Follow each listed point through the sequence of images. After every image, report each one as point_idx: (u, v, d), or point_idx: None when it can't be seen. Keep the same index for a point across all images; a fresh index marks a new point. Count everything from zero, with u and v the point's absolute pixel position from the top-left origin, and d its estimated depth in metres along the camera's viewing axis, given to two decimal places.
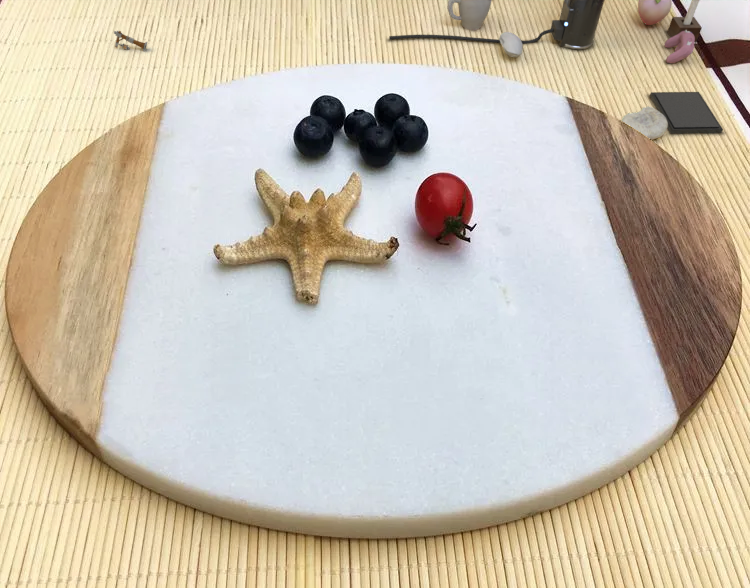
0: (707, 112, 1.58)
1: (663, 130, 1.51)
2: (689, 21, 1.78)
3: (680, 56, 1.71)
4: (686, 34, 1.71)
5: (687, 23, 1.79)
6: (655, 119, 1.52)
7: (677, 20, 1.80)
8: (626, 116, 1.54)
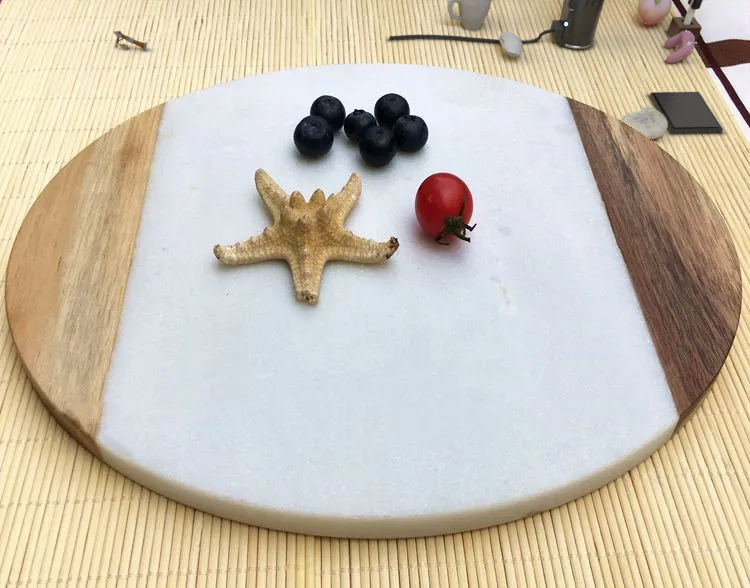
0: (707, 112, 1.58)
1: (663, 130, 1.51)
2: (689, 21, 1.78)
3: (680, 56, 1.71)
4: (686, 34, 1.71)
5: (687, 23, 1.79)
6: (655, 119, 1.52)
7: (677, 20, 1.80)
8: (626, 116, 1.54)
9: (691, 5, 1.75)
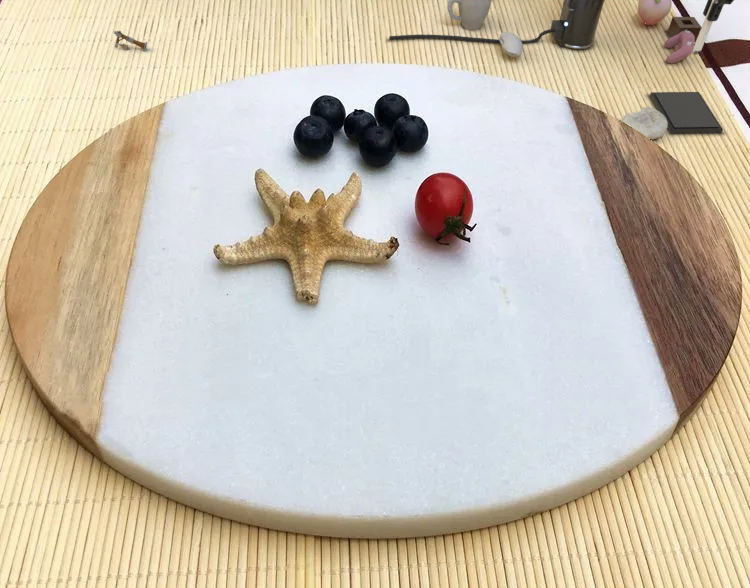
0: (707, 112, 1.58)
1: (663, 130, 1.51)
2: (704, 35, 1.50)
3: (680, 56, 1.71)
4: (686, 34, 1.71)
5: (702, 37, 1.51)
6: (655, 119, 1.52)
7: (677, 20, 1.80)
8: (626, 116, 1.54)
9: (707, 16, 1.47)
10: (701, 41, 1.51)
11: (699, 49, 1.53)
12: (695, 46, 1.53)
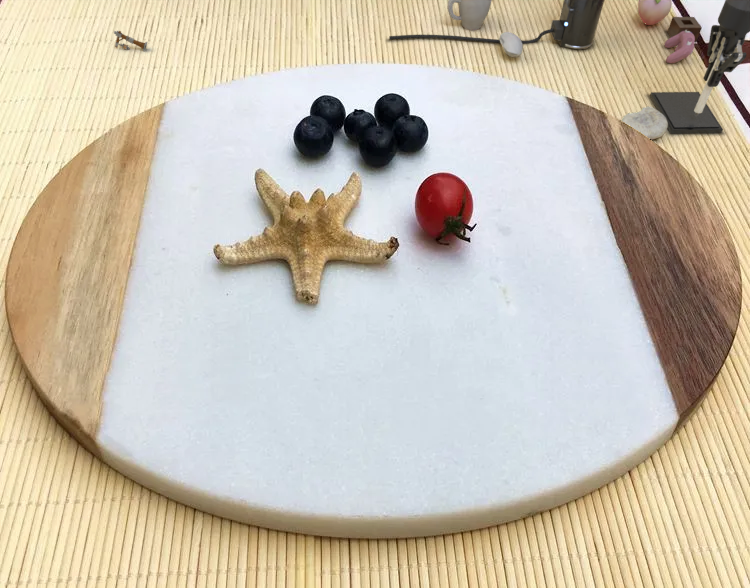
0: (707, 112, 1.58)
1: (663, 130, 1.51)
2: (705, 98, 1.50)
3: (680, 56, 1.71)
4: (686, 34, 1.71)
5: (703, 101, 1.51)
6: (655, 119, 1.52)
7: (677, 20, 1.80)
8: (626, 116, 1.54)
9: (708, 82, 1.47)
10: (701, 104, 1.51)
11: (700, 111, 1.53)
12: (696, 108, 1.53)
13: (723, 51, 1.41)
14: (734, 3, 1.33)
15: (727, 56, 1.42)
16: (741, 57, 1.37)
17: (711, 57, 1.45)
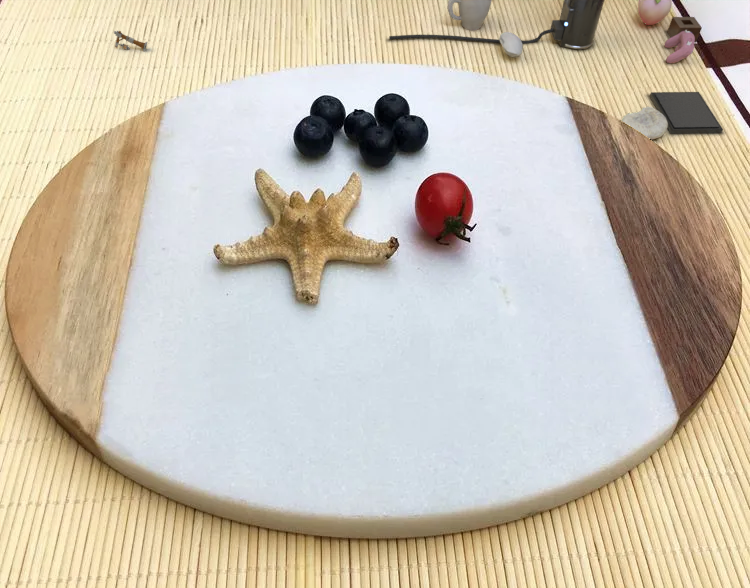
0: (707, 112, 1.58)
1: (663, 130, 1.51)
2: None
3: (680, 56, 1.71)
4: (686, 34, 1.71)
5: None
6: (655, 119, 1.52)
7: (677, 20, 1.80)
8: (626, 116, 1.54)
9: None
10: None
11: None
12: None
13: None
14: None
15: None
16: None
17: None
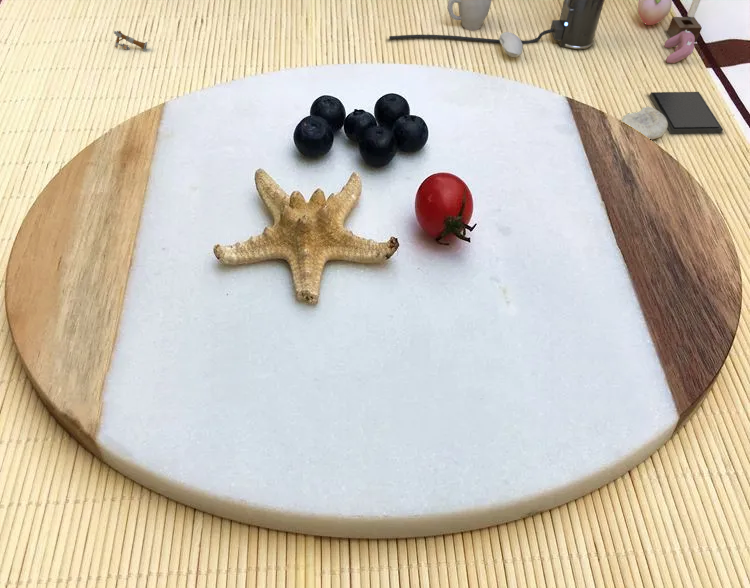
0: (707, 112, 1.58)
1: (663, 130, 1.51)
2: (697, 2, 1.74)
3: (680, 56, 1.71)
4: (686, 34, 1.71)
5: (695, 5, 1.75)
6: (655, 119, 1.52)
7: (677, 20, 1.80)
8: (626, 116, 1.54)
9: None
10: (693, 8, 1.75)
11: (692, 15, 1.77)
12: (689, 13, 1.77)
13: None
14: None
15: None
16: None
17: None
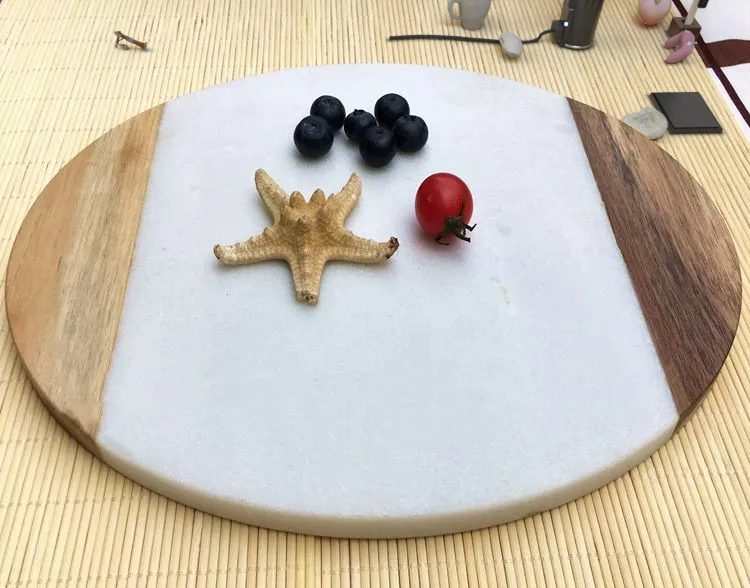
0: (707, 112, 1.58)
1: (663, 130, 1.51)
2: (690, 21, 1.78)
3: (680, 56, 1.71)
4: (686, 34, 1.71)
5: (688, 23, 1.79)
6: (655, 119, 1.52)
7: (677, 20, 1.80)
8: (626, 116, 1.54)
9: None
10: None
11: None
12: None
13: None
14: None
15: None
16: None
17: None
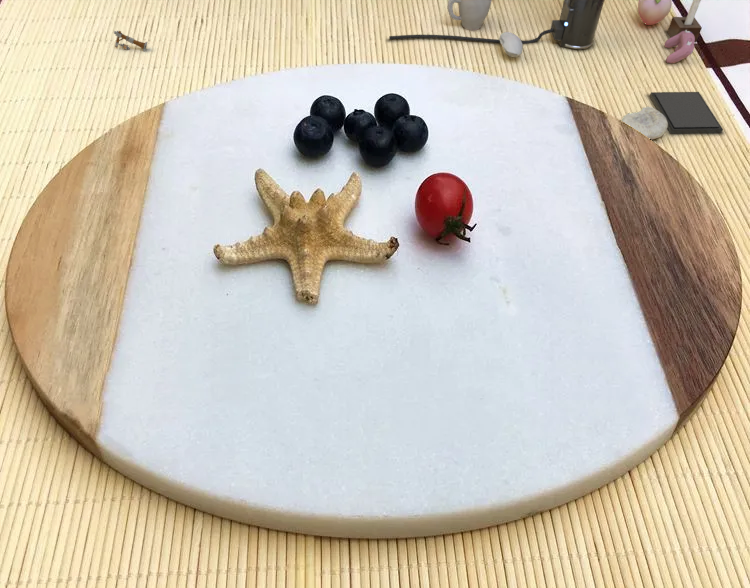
0: (707, 112, 1.58)
1: (663, 130, 1.51)
2: (690, 21, 1.78)
3: (680, 56, 1.71)
4: (686, 34, 1.71)
5: (688, 23, 1.79)
6: (655, 119, 1.52)
7: (677, 20, 1.80)
8: (626, 116, 1.54)
9: None
10: None
11: None
12: None
13: None
14: None
15: None
16: None
17: None
